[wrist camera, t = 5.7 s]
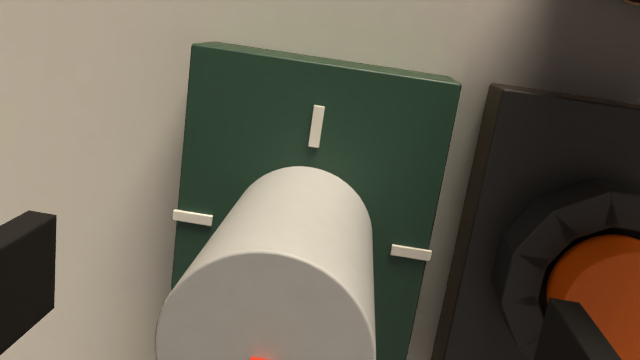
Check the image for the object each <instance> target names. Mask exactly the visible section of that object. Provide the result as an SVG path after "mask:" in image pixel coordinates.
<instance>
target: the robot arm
mask: <svg viewBox="0 0 640 360" xmlns="http://www.w3.org/2000/svg"><path fill="white" fill-rule="evenodd" d="M55 253H56V215H52V214H46V213H40V212H35V211H27V212H25V213H23V214H22V215H20V216H18V217H16V218H14V219H12V220H10V221H9V222H7V223H5V224H3V225H1V226H0V355H1V354H2V353H3V352H4V351H6V350H7V349H8V348H9V347H10V346H11V345H12V344H14V343H15V342H16V341H17V340H18V339H19V338H20V337H22V336H23V335H24V334H25V333H26V332H27V331H28V330H29V329H31V328H32V327H33V326H34V325H35V324H36V323H37V322H39V321H40V320H41V319H42V318H43V317H44V316H45V315H46V314H48V313H49V312H50V311H51V310H52V309H53V308H54V292H55ZM533 360H622V359H621V358H620V356H619V355H618V354H617V352H616V351H615V350H614V348H613V347H612V346H611V344H610V343H609V342H608V340H607V339H606V337H605V336H604V335H603V333H602V332H601V331H600V329H599V328H598V327H597V325H596V324H595V323H594V321H593V320H592V319H591V317H590V316H589V314H588V313H587V312H586V310H585V309H584V308H583V306H582V305H581V304H580V303H579V302H573V301H567V300H561V299H555V298H549V302H548V306H547V309H546V313H545V317H544V321H543V324H542V328H541V332H540V336H539V339H538V343H537V347H536V351H535V354H534V358H533Z"/></svg>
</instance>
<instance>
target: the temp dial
mask: <svg viewBox="0 0 640 360" xmlns="http://www.w3.org/2000/svg"><path fill="white" fill-rule="evenodd" d="M155 352H156V360H376V337H375V305H374V274H373V242H372V226H371V221H370V217H369V214H368V211H367V209H366V207H365V205H364V203H363V202H362V200H361V198H360V197H359V195H358V194H357V193H356V192H355V191H354V190H353V189H352V188H351V187H350V186H349V185H348V184H347V183H346V182H344V181H343V180H342V179H340V178H339V177H337V176H335V175H333V174H331V173H329V172H326V171H324V170H321V169H317V168H313V167H304V166H293V167H286V168H281V169H278V170H274V171H272V172H270V173H268V174H265V175H264V176H262V177H261V178H259V179H257V180H256V181H255V182H254V183H253V184H251V185H250V186H249V187H248V189H247V190H246V191H245V192H244V193H243V195H242V196H241V197H240V199H239V200H238V201H237V203H236V204H235V205H234V207H233V208H232V209H231V211H230V212H229V214H228V215H227V216H226V218H225V219H224V220H223V222H222V223H221V224H220V226H219V227H218V228H217V230H216V231H215V233H214V234H213V235H212V237H211V238H210V239H209V241H208V242H207V243H206V245H205V246H204V247H203V249H202V250H201V252H200V253H199V254H198V256H197V257H196V258H195V260H194V261H193V262H192V264H191V265H190V266H189V268H188V269H187V271H186V272H185V273H184V275H183V276H182V277H181V279H180V280H179V281H178V283H177V284H176V285H175V287H174V288H173V290H172V291H171V293H170V294H169V295H168V297H167V299H166V301H165V303H164V305H163V307H162V309H161V312H160V315H159V318H158V321H157V326H156V332H155Z"/></svg>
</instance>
